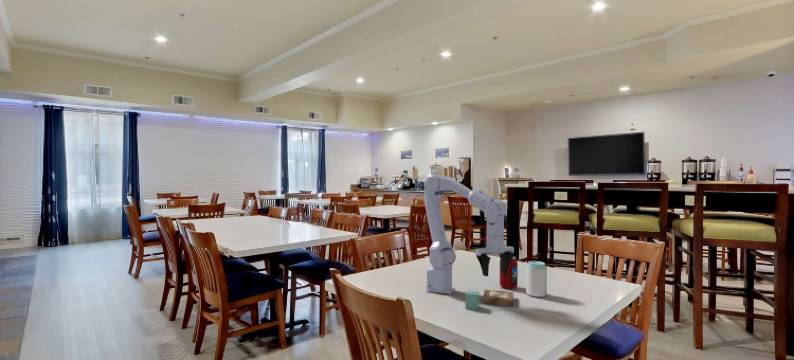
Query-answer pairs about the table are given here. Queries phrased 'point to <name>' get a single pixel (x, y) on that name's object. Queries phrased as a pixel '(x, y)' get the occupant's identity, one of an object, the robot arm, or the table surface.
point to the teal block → (472, 300)
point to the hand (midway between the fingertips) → (494, 274)
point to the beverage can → (510, 275)
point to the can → (536, 279)
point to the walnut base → (498, 298)
